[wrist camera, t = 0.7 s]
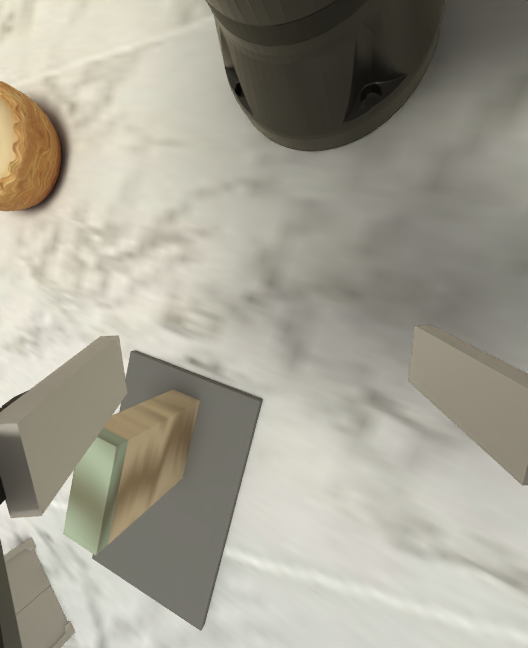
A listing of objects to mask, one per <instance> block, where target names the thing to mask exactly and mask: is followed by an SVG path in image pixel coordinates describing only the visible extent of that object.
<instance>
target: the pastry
mask: <svg viewBox="0 0 528 648" xmlns="http://www.w3.org/2000/svg"><path fill="white" fill-rule="evenodd" d="M60 165H61V145H60V140H59V137H58V134H57V132H56V130H55V128H54V126H53V125H52V123H51V121H50V120H49V118H48V116H47V115H46V114H45V113H44V112H43V110H42V109H41V108H40V107H39V106H38V105H37V104H36V103H35V102H34V101H33V100H31V99H30V98H29V97H28V96H26V95H25V94H23V93H22V92H20V91H18V90H16V89H15V88H13V87H12V86H10V85H8V84H6V83H4V82H2V81H0V211H15V210H23V209H26V208H29V207H32V206H35V205H37V204H39V203H40V202H42V201H43V200H44V199H45V198H46V197H47V196H48V195H49V193H50V192H51V191H52V189H53V187H54V185H55V183H56V180H57V178H58V175H59V171H60Z"/></svg>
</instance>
